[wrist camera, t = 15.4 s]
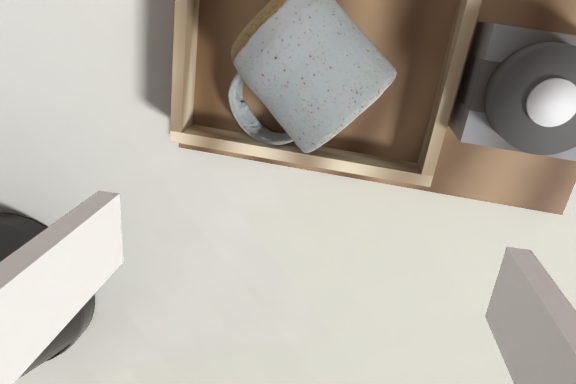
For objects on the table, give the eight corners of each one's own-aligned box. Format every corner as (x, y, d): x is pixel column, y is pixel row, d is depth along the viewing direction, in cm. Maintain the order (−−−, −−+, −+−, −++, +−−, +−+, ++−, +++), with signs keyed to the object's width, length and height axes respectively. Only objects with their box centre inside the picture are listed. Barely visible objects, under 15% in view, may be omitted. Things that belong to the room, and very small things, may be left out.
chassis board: (184, 142, 37) (158, 163, 32) (196, -103, 30) (165, -124, 26) (555, 208, 35) (587, 240, 30) (655, -43, 28) (716, -53, 23)
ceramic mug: (313, -29, 30) (297, -37, 23) (396, 66, 31) (404, 84, 24) (209, 84, 34) (168, 106, 27) (286, 163, 35) (266, 204, 28)
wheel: (458, 121, 32) (480, 146, 26) (484, 30, 30) (514, 36, 24) (547, 136, 32) (589, 165, 26) (580, 45, 29) (635, 54, 23)
